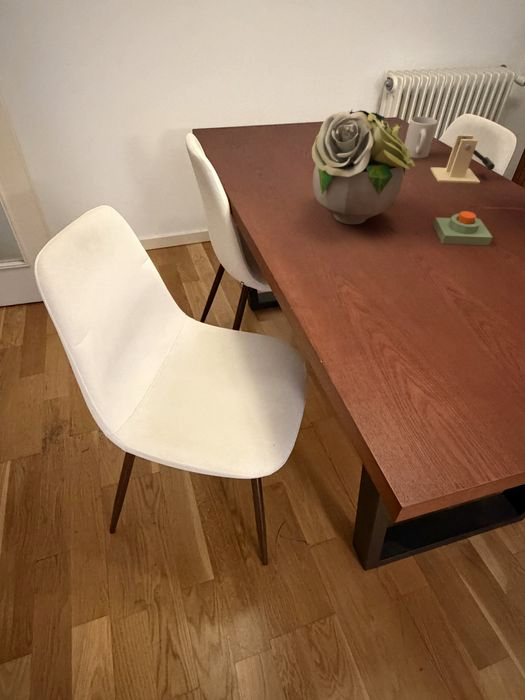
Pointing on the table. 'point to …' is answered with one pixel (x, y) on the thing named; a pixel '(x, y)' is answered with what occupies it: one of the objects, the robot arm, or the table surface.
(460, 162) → the beige bracket stand
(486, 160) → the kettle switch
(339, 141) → the flower arrangement
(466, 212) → the button
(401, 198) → the table surface
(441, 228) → the control block
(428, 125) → the mug
